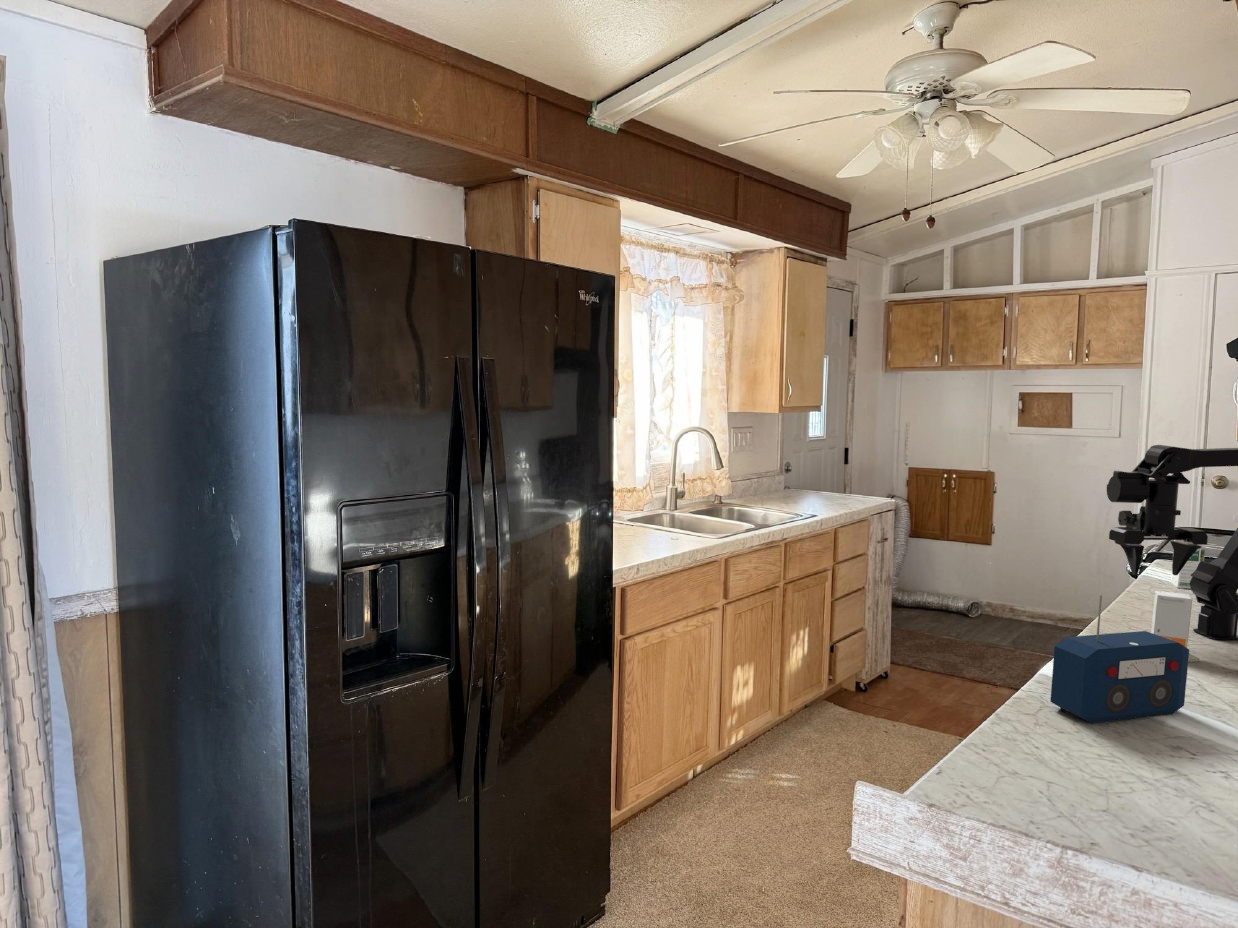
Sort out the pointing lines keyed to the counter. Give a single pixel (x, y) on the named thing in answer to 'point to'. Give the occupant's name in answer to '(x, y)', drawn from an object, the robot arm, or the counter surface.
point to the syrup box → (1188, 569)
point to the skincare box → (1172, 616)
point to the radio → (1119, 675)
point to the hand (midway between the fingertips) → (1154, 574)
